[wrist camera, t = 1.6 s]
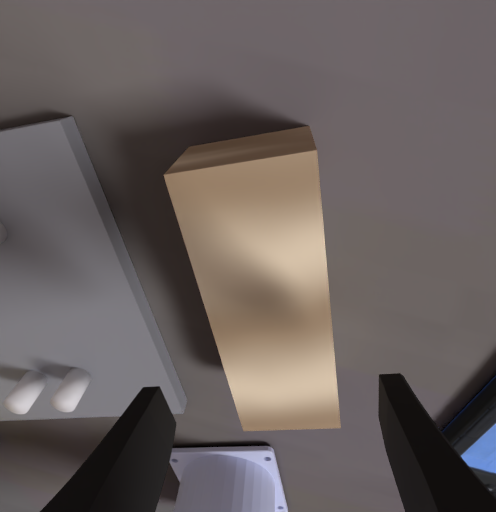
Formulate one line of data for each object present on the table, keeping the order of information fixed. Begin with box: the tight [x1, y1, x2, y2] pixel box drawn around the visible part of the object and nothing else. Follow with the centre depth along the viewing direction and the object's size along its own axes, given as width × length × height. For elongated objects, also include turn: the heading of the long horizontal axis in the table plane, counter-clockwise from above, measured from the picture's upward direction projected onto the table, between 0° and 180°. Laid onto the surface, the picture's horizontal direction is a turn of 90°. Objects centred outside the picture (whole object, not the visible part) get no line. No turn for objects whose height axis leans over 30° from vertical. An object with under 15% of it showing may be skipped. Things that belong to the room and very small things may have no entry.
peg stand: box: [0, 116, 187, 421], centre depth 19 cm, size 18×14×3 cm
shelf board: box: [164, 126, 341, 431], centre depth 16 cm, size 14×5×4 cm, turn 11°
